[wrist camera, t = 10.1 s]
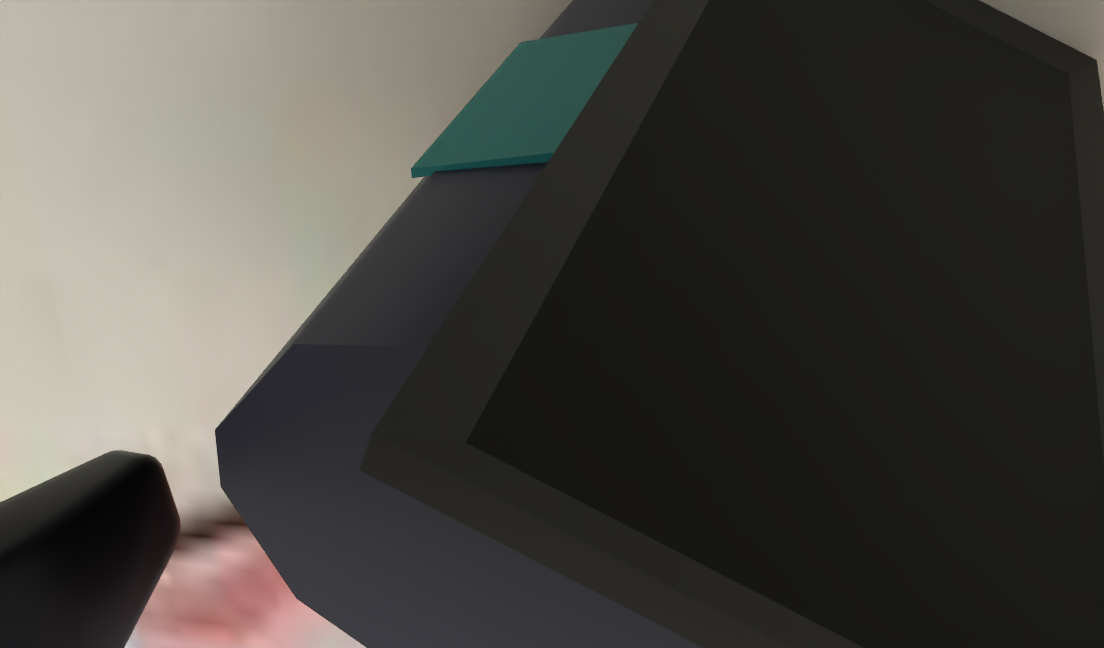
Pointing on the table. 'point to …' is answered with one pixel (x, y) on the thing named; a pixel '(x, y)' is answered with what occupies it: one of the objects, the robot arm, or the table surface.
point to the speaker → (715, 348)
